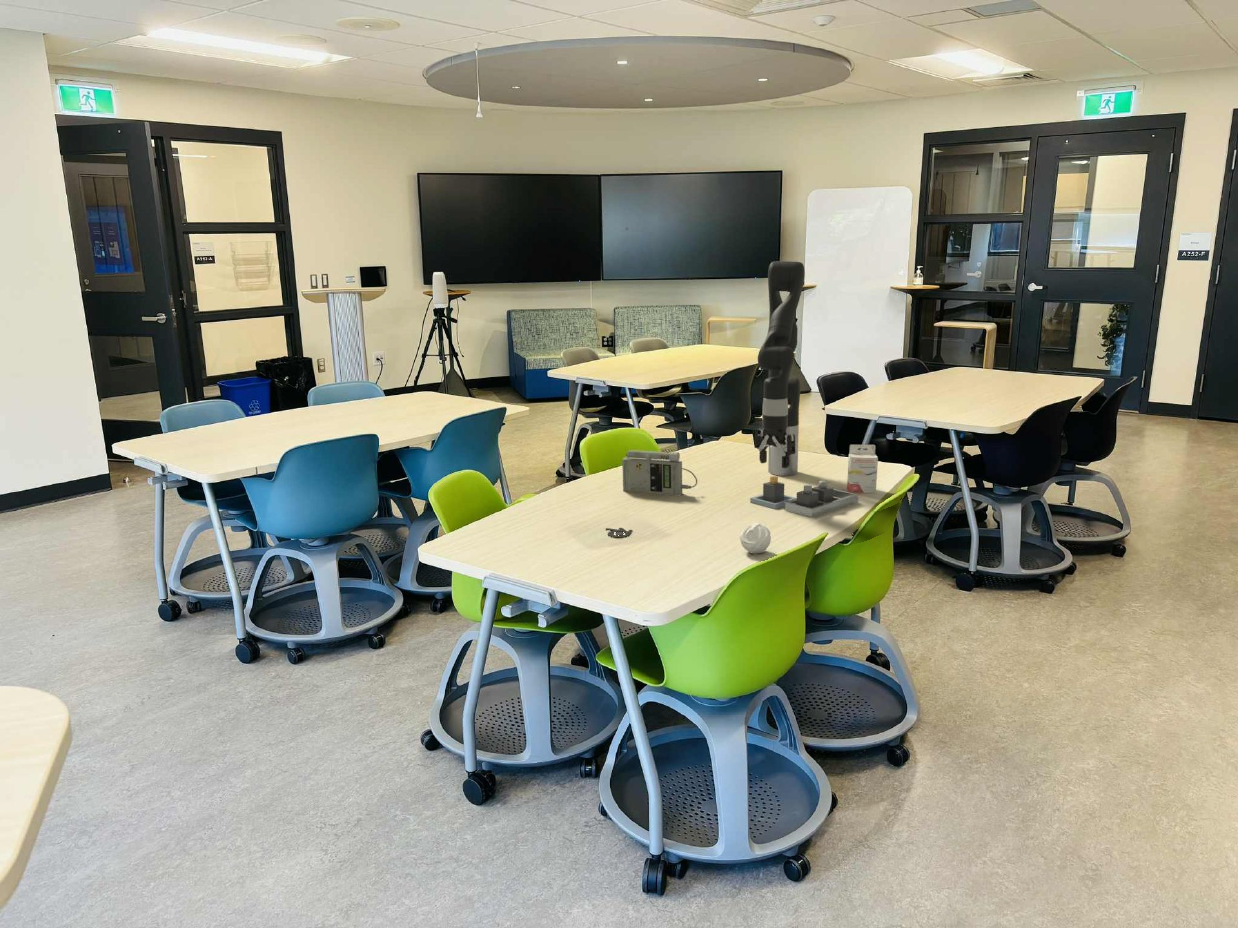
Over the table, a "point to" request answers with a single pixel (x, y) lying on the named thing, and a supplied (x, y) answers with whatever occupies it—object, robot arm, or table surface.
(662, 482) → the geiger counter
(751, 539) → the crumpled white ball
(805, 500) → the twin plug
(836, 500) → the strip
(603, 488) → the table surface
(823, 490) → the twin plug
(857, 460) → the ink cartridge box
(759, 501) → the tray
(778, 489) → the plug
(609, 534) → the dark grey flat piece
